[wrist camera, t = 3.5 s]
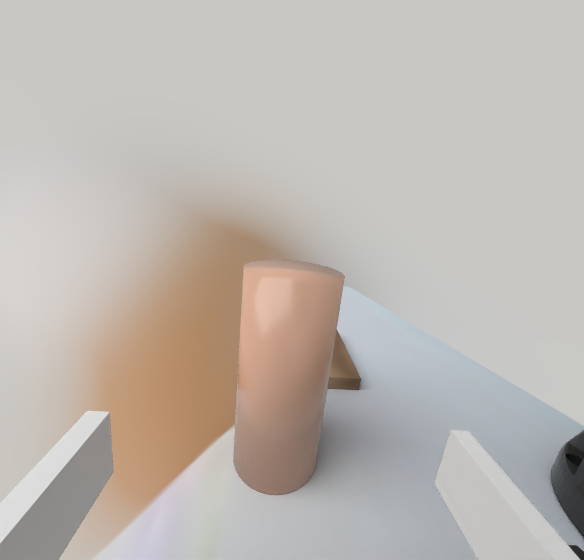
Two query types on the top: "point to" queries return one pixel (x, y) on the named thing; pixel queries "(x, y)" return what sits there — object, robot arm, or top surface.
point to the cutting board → (342, 368)
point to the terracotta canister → (283, 371)
